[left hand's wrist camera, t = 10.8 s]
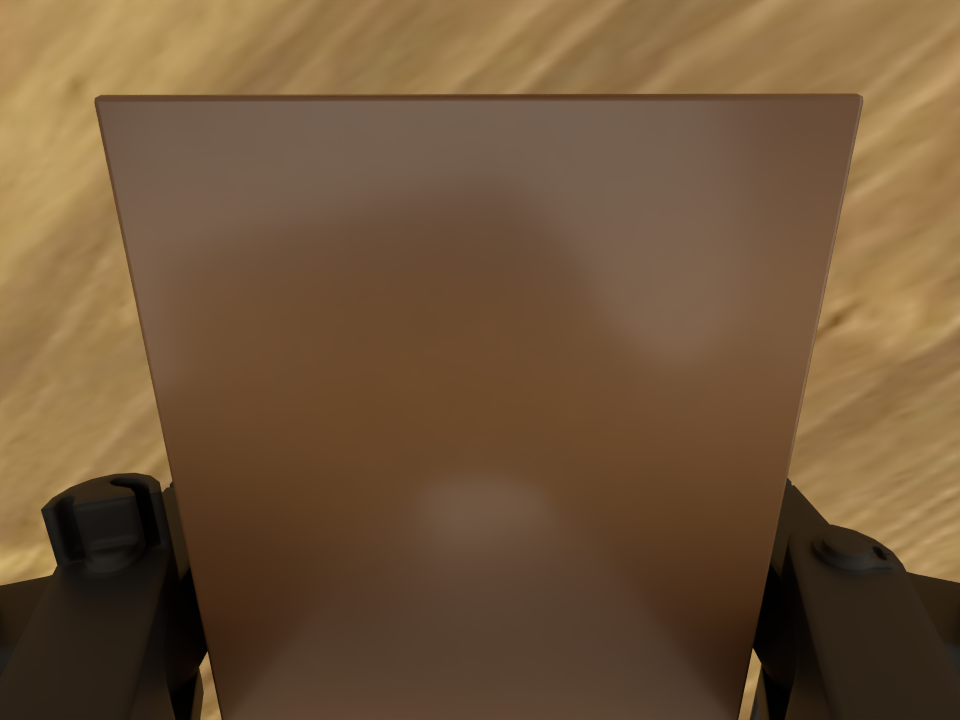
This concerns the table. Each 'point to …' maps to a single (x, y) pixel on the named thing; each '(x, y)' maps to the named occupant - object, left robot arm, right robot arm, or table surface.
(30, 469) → the table surface
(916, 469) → the table surface
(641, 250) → the bar
